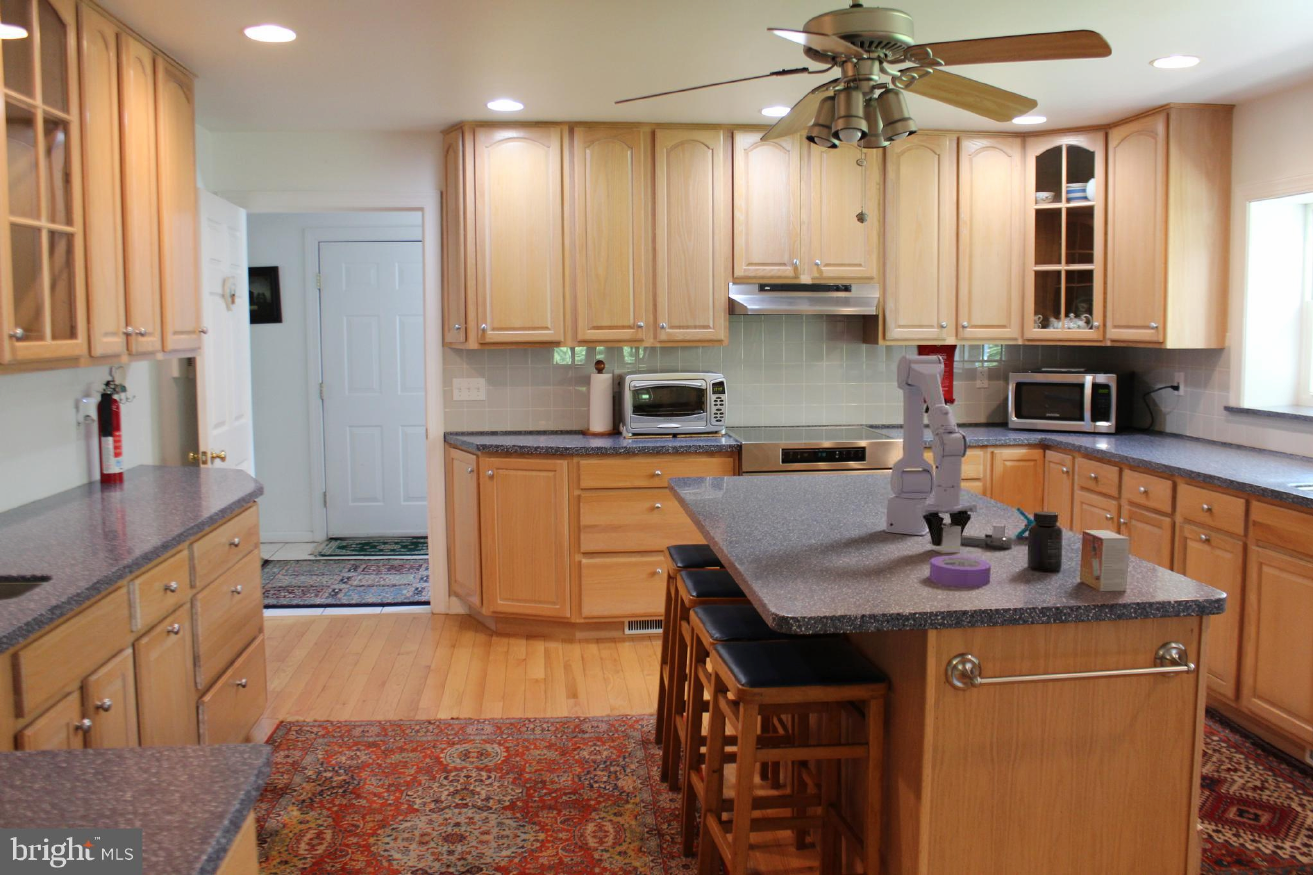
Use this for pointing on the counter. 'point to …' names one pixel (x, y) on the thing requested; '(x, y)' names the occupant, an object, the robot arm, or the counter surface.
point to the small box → (1104, 560)
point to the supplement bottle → (1045, 543)
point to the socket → (949, 539)
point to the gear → (1029, 523)
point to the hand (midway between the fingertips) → (945, 544)
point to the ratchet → (990, 539)
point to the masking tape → (960, 571)
